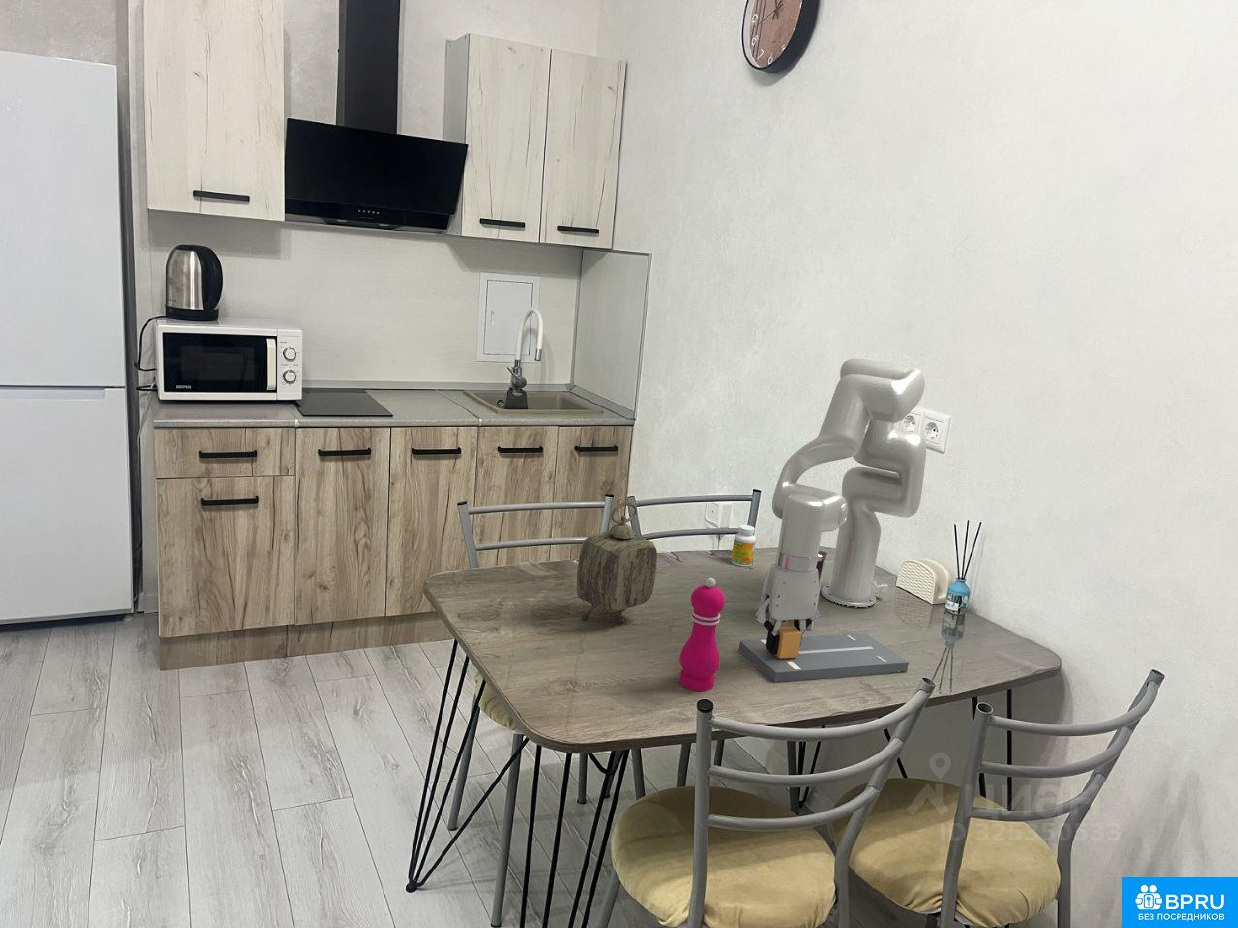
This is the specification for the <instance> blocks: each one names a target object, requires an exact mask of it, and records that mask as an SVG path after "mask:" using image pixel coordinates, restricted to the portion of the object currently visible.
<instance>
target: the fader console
mask: <svg viewBox="0 0 1238 928" xmlns="http://www.w3.org/2000/svg"><path fill="white" fill-rule="evenodd" d="M766 639H767V638H759V639H743V640H742V639H741V640H739V642H738V649H737V650H738V652H740V653H741V654H742V655H743V656H744V657H745V658H746V659H747V660H749V661H750V662H751V663H752V664H753V665H754V666H755V667H756V668H757V669H759V670H760V671H761V672H762V673H763V674H764V675H765V676H766V677H767V678H769V679H770V680H771V681H772V682H773V683H783V682H798V681H807V680H808V681H809V680H820V679H821V680H822V679H823V680H824V679H833V678H845V677H846V678H848V677H858V676H860V675H861V676H870V675H869V674H873V675H880V674H879V673H885V674H891V673H890V672H898V671H899V672H898V673H901V672H900V671H907V672H908V669H909V665H910V662H909V661H908V660H906V659H905V658H903V657H902V656H900V654H898V653H896V652H895V651H893V650H892V649H890V648H889V647H887V646H886V645H885V644H883V643H881V642H880V641H879V640H877V639H875V638H874V637H873V636H871V635H869V634H868V633H867V632H859V633H843V634H842V633H841V634H840V633H839V634H827V635H810V636H809V635H808V636H802V638H801V644H800V647H799V653H798V657H795V658H781V659H780V658H778V657H777V656H776V655H773V654H772V653H771V652H769V651H768V650H767V649H766Z"/></svg>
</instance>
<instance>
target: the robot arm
mask: <svg viewBox="0 0 1238 928" xmlns="http://www.w3.org/2000/svg"><path fill="white" fill-rule="evenodd" d="M839 370H840V371H839V376H840V377H839V378H840V379H839V380H838V382H837V384H836V387H835V389H834V393H833V394H832V397H831V399H830V403H829V405H828V408H827V412H826V414H825V416H824V419H823V422H822V425H821V428H820V431H819V434H818V435H817V437H816V438H815V439H813V440H811V441H809V442H808V443H806V444H804V445H803V446H801V447H800V448H799V449H798V450H797V451H795V453H793V454H792V455H791V456H790V457H789V458H788V460H787V461H786V463H784V466H783V467H782V469H781V472H780V474H779V478H778V481H777V483H776V485H775V489H774V492H773V495H772V498H771V499H772V500H771V509H772V513H773V515H774V516H775V517H776V518H778V519H780V520H781V524H780V533H779V538H778V544H777V551H776V556H775V557H776V559H775V563H772V564H771V565H770V567H769V569H768V572H767V575H766V578H765V581H764V584H763V587H762V592H761V597H760V601H759V609H757V611H756V612H755V614H754V619H755V620H756V621H758V622H759V623H760V624H762V625H763V627H764V628H765V630H766V631H767V632H766V633H767V634H766V638H765V639H766V649H767V650H768V651H769V652H771V653H772V654H773V655H777V652H778V646H779V639H780V636H779V635H778V631H779V628H780V625H781V622H782V620H793V626H794V627H796V629H797V630H799V631H800V632H801V633H802V635H801V638H802V637H803V635H804V634H805V633H806V630H807V629H806V628H807V627H808V626H809V625H811V623H812V622H814V621H816V620H818V619H819V618H820V617H821V613H820V611H819V609H818V605H817V600H818V587H819V578H818V569H817V568H816V566H817V562H818V561H821V560H822V555H821V554H818V553H819V551H820V546H821V540H822V535H823V533H825V532H826V533H827V532H833V531H836V530H838V532H837V538H836V544H835V549H834V556H833V562H832V567H831V573H830V577H829V579H830V580H829V584H827V585H823V587H821V591H820V594H821V595H822V597H823V598H825V599H826V600H828V601H830V602H832V603H834V602H835V604H837V603H838V605H840V604H842V605H841V606H844V605H847V606H846V607H849V606H857V607H860V606H861V607H863V606H864V607H865V606H870V605H873V604H874V603H875V602H877V597H876V595H874V594H877V593H878V592H879V593H882V592H883V593H884V592H888V591H889V585H888V583H877V581H875V580H874V574H875V570H876V569H875V568H876V564H877V558H878V552H879V546H880V541H881V536H882V528H881V523H880V521H879V519H878V517H877V515H876V513H880V514H885V515H888V516H893V517H897V518H905V519H906V518H911V517H913V516H915V514H916V513H917V511H918V510H919V506H920V503H921V499H922V490H923V484H924V483H923V482H924V475H925V469H926V468H925V466H926V459H927V444H926V440H925V438H924V437H923V436H922V435H921V434H920V433H917V432H916V431H915V432H913V431H911V430H903V429H898V428H896V427H895V424H897V423H900V422H902V421H904V419H906V417H907V416H908V415H909V414H910V413H911V412H912V411H913V410H914V409H915V407H916V406H917V405H918V403H919V402H920V401H921V399H922V396H923V394H924V391H925V385H926V383H925V376H924V373H923V371H921V370H920V369H919V368H917V367H914V366H908V365H904V364H903V365H902V364H895V363H890V362H889V363H888V362H883V361H877V360H872V359H867V358H866V359H865V358H849V359H848V360H847V359H846V360H845V361H844V362H843V363H842V364H841V368H840V369H839ZM850 458H853V460H854V461H855V462H856V463H857V464H860V465H862V466H855V467H852V468H850V469H849V470H847V471H846V472H845V473H844V475H843V479H842V485H841V494H840V493H837V492H833V491H830V490H825V489H820V488H817V487H813V486H809V485H804V484H800V483H797V482H798V481H799V479H800V477H801V476H802V475H803V474H804V473H806V472H807V471H808V470H810V469H811V468H814V467H817V466H819V465H822V464H823V465H824V464H827V463H831V462H836V461H841V460H845V459H850ZM818 601H819V600H818ZM875 604H876V603H875ZM873 606H874V605H873ZM857 607H856V608H857ZM768 614H769V615H768ZM767 615H768V617H767V618H766V616H767ZM774 621H775V622H774ZM814 623H815V622H814ZM773 624H774V625H773ZM800 644H801V641H800Z"/></svg>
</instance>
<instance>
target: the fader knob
mask: <svg viewBox="0 0 1238 928" xmlns="http://www.w3.org/2000/svg"><path fill="white" fill-rule="evenodd" d="M773 625H774V624H773ZM778 635H779V636H780V639H779V646H778V652H777V655H776V656H777V657H778V658H780V659H781V658H795V657H798V653H799V647H800V641H801V635H802V636H803V634H802V633H801V632H800V631H799V630H797V629H796V627H794V626H792V625H791V624H790V623H788V622H784V623H781V625H780V628H779V631H778Z"/></svg>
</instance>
